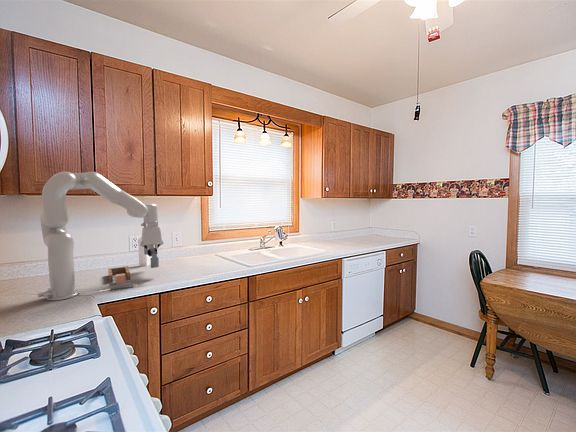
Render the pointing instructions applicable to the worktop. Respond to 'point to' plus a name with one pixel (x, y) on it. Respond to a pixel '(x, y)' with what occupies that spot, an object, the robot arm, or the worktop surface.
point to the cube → (120, 279)
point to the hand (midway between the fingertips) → (152, 255)
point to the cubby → (112, 278)
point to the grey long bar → (154, 259)
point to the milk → (143, 259)
